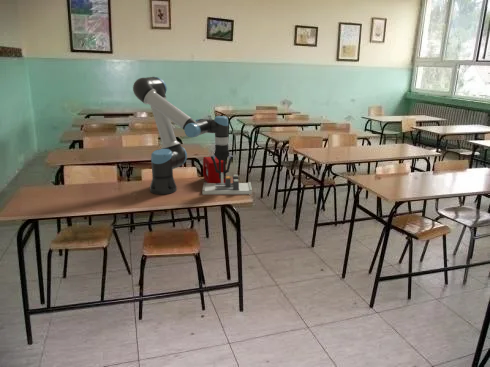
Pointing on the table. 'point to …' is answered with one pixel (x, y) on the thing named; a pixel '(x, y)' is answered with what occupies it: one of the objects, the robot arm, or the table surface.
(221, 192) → the white slider panel
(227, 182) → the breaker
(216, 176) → the red rectangular box
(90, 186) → the table surface
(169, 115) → the robot arm
